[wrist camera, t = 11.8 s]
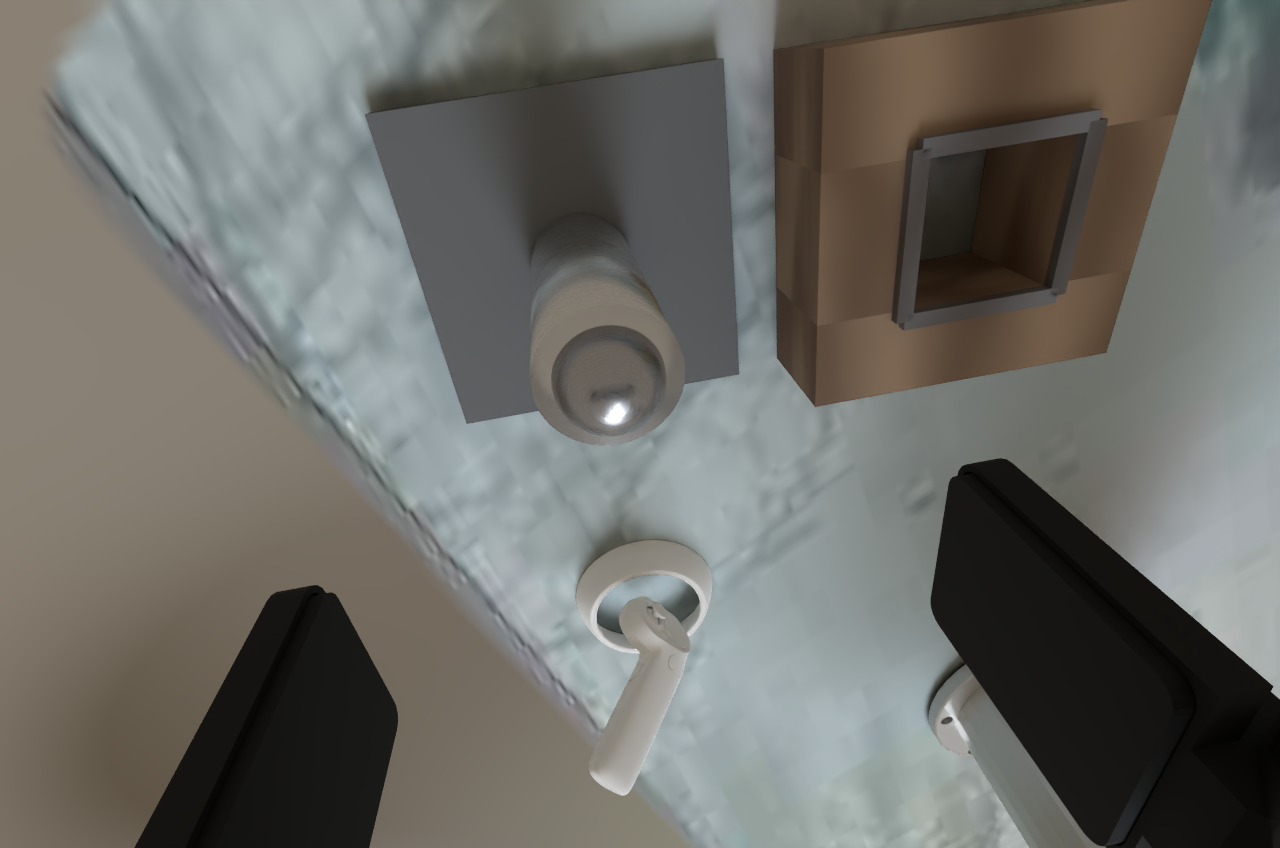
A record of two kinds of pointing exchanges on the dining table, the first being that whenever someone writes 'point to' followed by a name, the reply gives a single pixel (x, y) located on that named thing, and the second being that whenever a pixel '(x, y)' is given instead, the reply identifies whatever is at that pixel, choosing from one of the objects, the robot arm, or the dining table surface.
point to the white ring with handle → (641, 650)
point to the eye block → (1009, 197)
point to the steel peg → (598, 336)
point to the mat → (564, 211)
